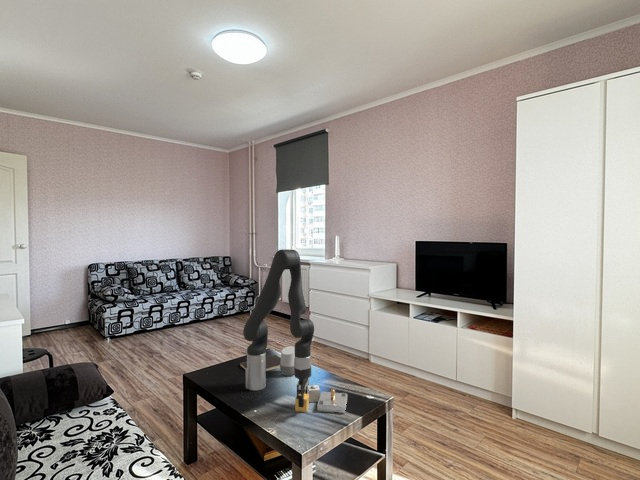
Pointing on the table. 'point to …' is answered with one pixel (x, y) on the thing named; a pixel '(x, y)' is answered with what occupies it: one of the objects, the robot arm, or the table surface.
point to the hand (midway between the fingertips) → (303, 402)
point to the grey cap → (314, 393)
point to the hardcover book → (267, 362)
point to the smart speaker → (287, 361)
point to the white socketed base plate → (332, 402)
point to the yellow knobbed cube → (306, 403)
